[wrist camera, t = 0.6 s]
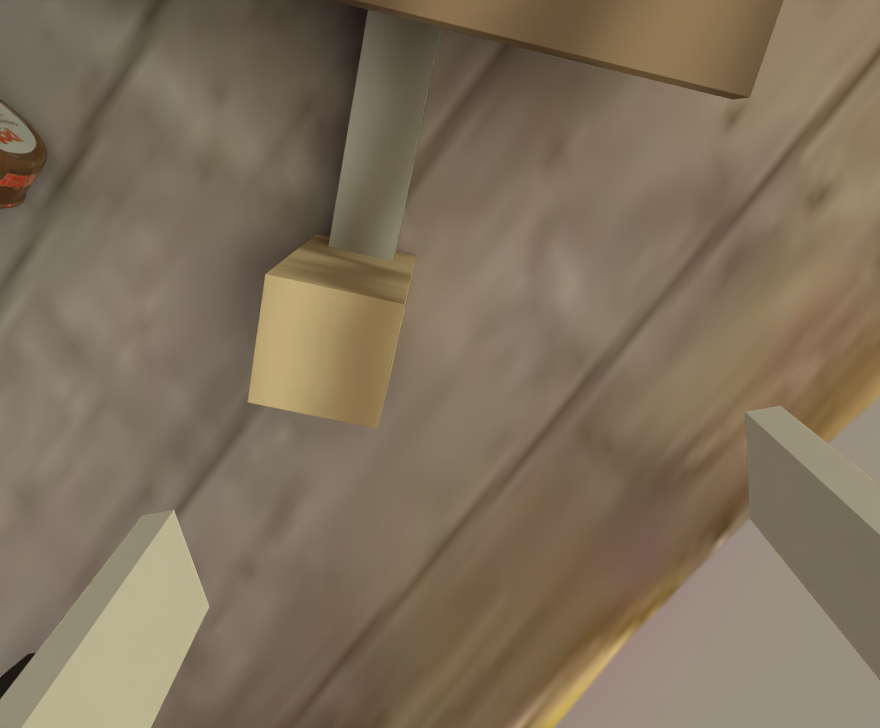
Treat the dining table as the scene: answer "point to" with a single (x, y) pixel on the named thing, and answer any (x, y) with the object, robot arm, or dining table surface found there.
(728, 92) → the shelf
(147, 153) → the dining table surface
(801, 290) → the dining table surface
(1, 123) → the tin
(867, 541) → the robot arm
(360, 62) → the tool
